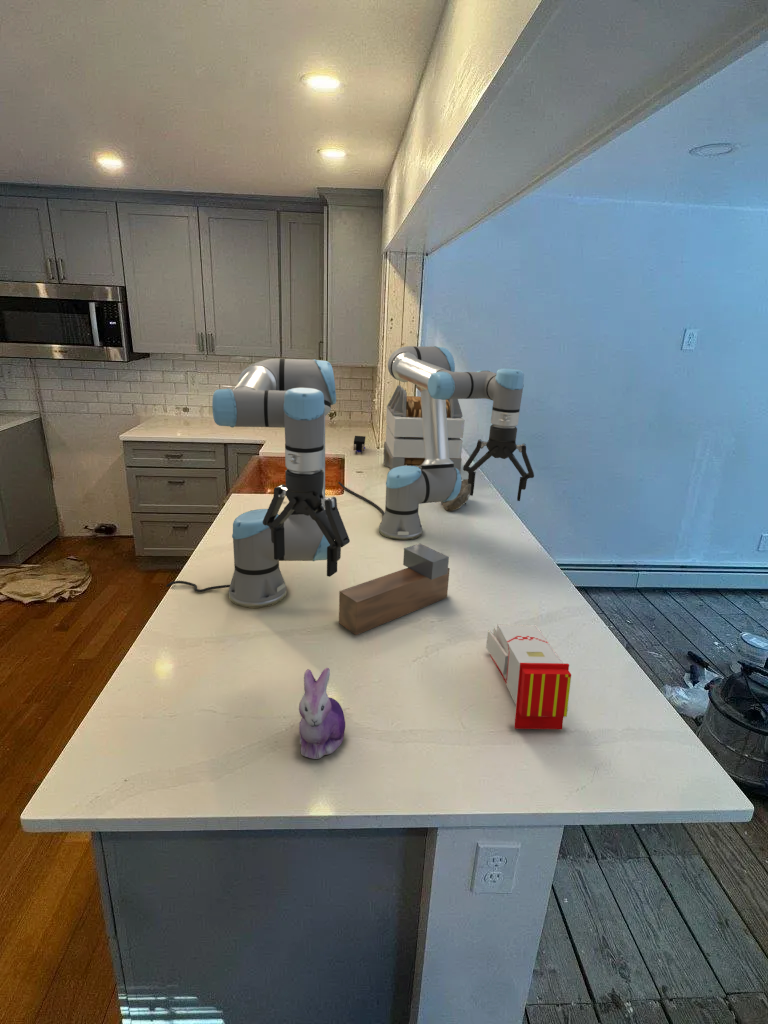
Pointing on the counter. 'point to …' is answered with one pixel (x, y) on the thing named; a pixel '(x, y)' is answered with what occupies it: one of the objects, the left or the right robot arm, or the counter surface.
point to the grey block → (426, 561)
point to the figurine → (319, 718)
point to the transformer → (417, 431)
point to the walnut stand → (388, 599)
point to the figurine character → (359, 443)
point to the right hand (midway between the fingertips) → (494, 497)
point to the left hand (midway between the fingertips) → (305, 565)
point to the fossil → (459, 497)
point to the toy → (531, 675)
